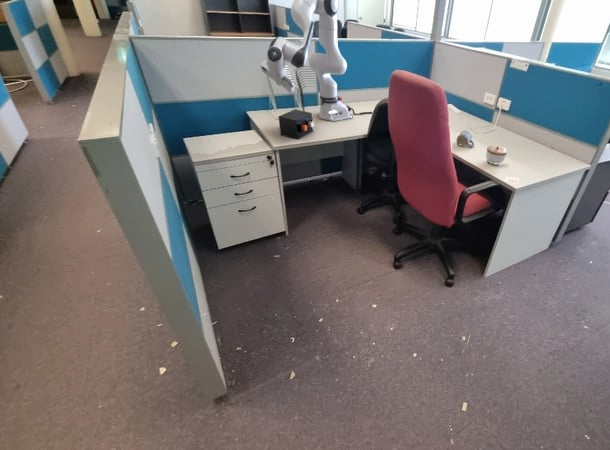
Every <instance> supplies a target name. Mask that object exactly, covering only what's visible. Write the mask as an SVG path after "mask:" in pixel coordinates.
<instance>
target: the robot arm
mask: <svg viewBox="0 0 610 450" xmlns="http://www.w3.org/2000/svg"><path fill="white" fill-rule="evenodd" d="M339 5H340V3H339V0H294V1H293V2H292V5H291V7H290V15H291V18H292V20H293V22H294V23H295V25H296V26H297V27H298V28H299V29H300V30H301V31H302V32H303V38H302V42H301V45H297V44H296V43H294V42H292V41H290V40H289V39H286V38H284V37H283V36H277V37H274V38H273V39H272V40H271V42H270V44H269V47H268V49H267V52H266V58H264V60H263V61H262V62H261V63H260V70H261V72H263V73H264V74H265V75H266V76H267V77H269V78H270V79H271V80H273V81H274V82H275V84H276V85H277V86H278V87H280V88H281V87H282V88H283V89H285V90H286V91H287V92H288V93H290V94H292V93H293V92H294V91H295V90H296V87H295V83H294V81H293V80H292V79H291V78H289V77H288V76H286V75H287V69H286V62H287V63H289V64H291V65H292V66H293V67H295V68H297V69H299V68H303V67H305V66H306V65H307V63H308V65H309V68H310V69H311V70H312V71H313V72H314V74H315V76H316V78H317V80H318V84H319V92H320V93H319V94H320V95H319V105H320V107H319V114H318V118H320V119H322V120H326V121H331V122H336V121H343V120H348V119H352V118H353V115H355V116H359V115H364V114H366V115H367V114H373V113H372V112H373V111H364V112H363V111H362V112H359V113H356V112H355V110H354V108H352V107H350V106H349V105H345V104H344V103H343V102H342V101H343V97H341V96H339V95H338V84H337V82H336V81H335V80H334V79H333V77H332V76H331V75H334V76H342V75H344V74H345V73H346V71H347V68H348V64H347V60H346V59H345V58H344V57H343V55H342V54H341V51H340V49H339V45H338V17H337V13H338V11H339ZM314 15H318V16H319V17H318V43H319V45H320V46H321V47H323V49H324V51H325V53H322V52H314V53H311V54H310V56H309V52H310V48H311V44H312V40H313V35H314V32H315V31H314V30H315V23H314V21H313V16H314ZM308 56H309V58H308ZM307 61H308V62H307ZM350 112H352V114H353V115H352V114H351V113H350Z"/></svg>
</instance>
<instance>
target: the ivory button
mask: <svg viewBox="0 0 610 450" xmlns="http://www.w3.org/2000/svg"><path fill="white" fill-rule="evenodd" d="M308 125H309V127H313V128H314V126H315V122H314V121H312V122H311V121H310V122H309V124H308Z"/></svg>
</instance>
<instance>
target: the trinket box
mask: <svg viewBox="0 0 610 450" xmlns="http://www.w3.org/2000/svg"><path fill="white" fill-rule="evenodd" d="M507 154H508V150H507V149H506V148H505V147H502V146H499V145H489V146H487V148H486V154H485V157H486V161H487V163H488V164H490V165H493V166H498V165H499V164H501V163H503V162H504V160H505V159H506V156H507ZM489 161H490V162H492V163H490V162H489ZM494 163H499V164H494Z"/></svg>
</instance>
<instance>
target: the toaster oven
mask: <svg viewBox="0 0 610 450" xmlns="http://www.w3.org/2000/svg"><path fill="white" fill-rule="evenodd" d="M277 118H278V125H279V132H280V133H279V134H280V136H283V137H288V138H291V139H296V140H299V139H301V138H302V137H305V136H306V135H308V134H310V133H312V132H313V131H314V129H313V128H314V126H313V127H309V125H308V124H309V122H310V121H311V122H313V114H312V112H310V111H304V110H301V109H300V110H299V109H292V110H290V111H288V112H285V113H283V114H281V115H278V117H277ZM302 125H307V130H306V131H304V130H302Z"/></svg>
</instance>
